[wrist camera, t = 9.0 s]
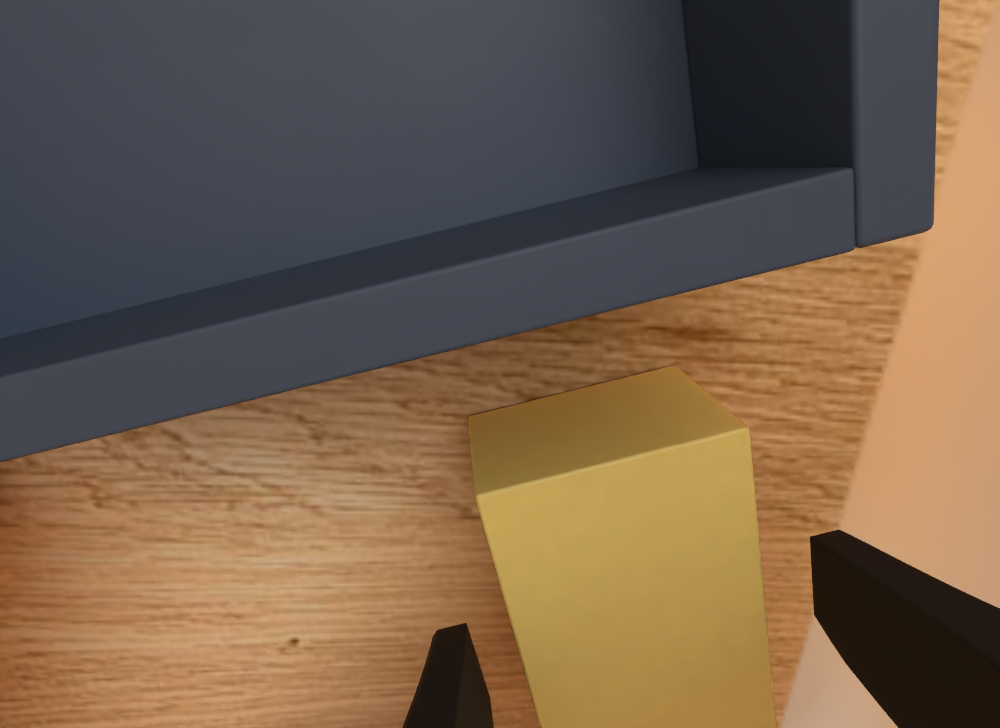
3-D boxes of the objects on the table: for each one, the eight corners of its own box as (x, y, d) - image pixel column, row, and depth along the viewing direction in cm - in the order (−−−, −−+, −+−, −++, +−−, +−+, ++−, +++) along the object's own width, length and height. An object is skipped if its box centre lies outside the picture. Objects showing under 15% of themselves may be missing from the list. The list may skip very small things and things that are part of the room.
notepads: (675, 364, 13) (751, 426, 10) (710, 626, 16) (779, 744, 13) (466, 415, 13) (474, 496, 10) (536, 670, 16) (560, 801, 13)
